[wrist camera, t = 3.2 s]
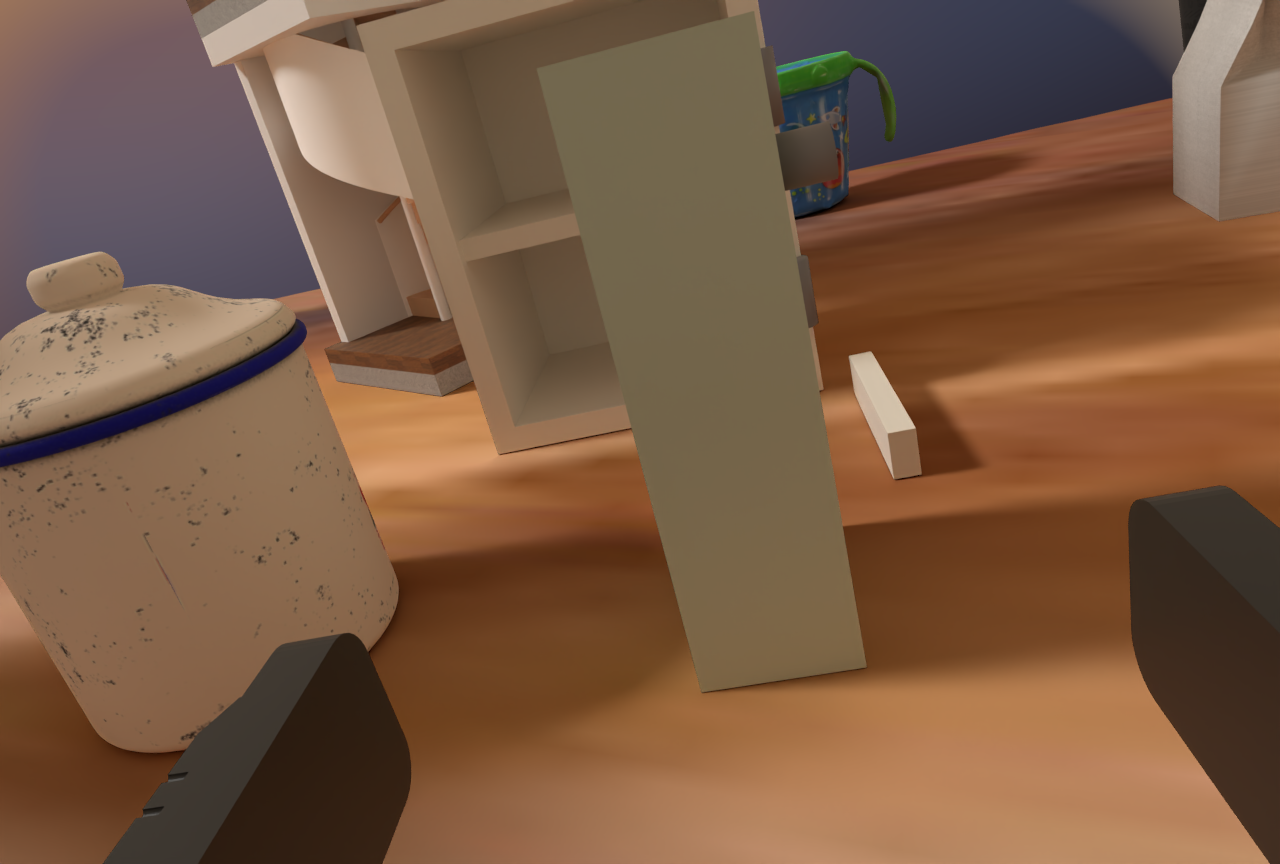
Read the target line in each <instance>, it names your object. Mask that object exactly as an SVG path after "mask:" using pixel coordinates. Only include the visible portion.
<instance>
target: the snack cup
mask: <svg viewBox="0 0 1280 864" xmlns="http://www.w3.org/2000/svg"><path fill="white" fill-rule="evenodd" d="M858 67H860V68H862V69H864V70H866V71H867V72H869V73H870V74H872V75H874V76H875V77H877V79H878V85H879V91H880V96H881V101H882V106H883V112H884V117H885V121H886V131H885V139H886V141H889V142H891V141H892V140H893V138H894V134H895V127H896V108H895V102H894V98H893V94H892V91H891V88H890V86H889V84H888V81H887V79H886V78H885V76H884V75H883V74H882V72H881V71H880V70H879V69H878V68H877V67H876V66H874V65H873V64H871V63H869V62H867V61H865V60H860V59H855V58H853V57H852V56H851V55H850V53H848V52H847V51H842V52H837V53H831V54H826V55H822V56H818V57H814V58H809V59H805V60H801V61H797V62H793V63H789V64H785V65H782V66H778V67H776V70H777V76H778V82H779V88H780V94H781V100H782V106H783V112H784V118H785V123H784V124H781V125H779V129H780V133H782V132H786V131H790V130H794V129H798V128H802V127H806V126H810V125H815V124H819V123H823V122H827V121H828V122H829V123H830V125H831V128H832V132H833V136H834V141H835V146H836V152H837V159H838V172H839V174H838V179H835V180H831V181H826V182H822V183H818V184H814V185H809V186H805V187H801V188H796V189H792V190H790V194H791V200H792V206H793V212H794V218H795V217H800V216H804V215H807V214H811V213H814V212H817V211H820V210H823V209H828V208H830V207H831V206H833V205H835V204H837V203H839V202H840V201H841V200H842V199H843V198H844V197H846V196H848V186H849V177H848V166H849V153H848V152H849V133H848V104H847V92H848V84H849V82H848V80H849V77H850V75H851V73H852V72H853V70H855V69H856V68H858Z"/></svg>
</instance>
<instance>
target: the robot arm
mask: <svg viewBox="0 0 1280 864" xmlns="http://www.w3.org/2000/svg"><path fill="white" fill-rule="evenodd" d="M1128 530H1129V565H1130V600H1131V631H1132V640H1133V646H1134V651H1135V655H1136V659H1137V662H1138V665H1139V668H1140V671H1141V674H1142V676H1143V679H1144V681H1145V683H1146V685H1147V687H1148V689H1149V691H1150V693H1151V695H1152V696H1153V698H1154V699H1155V701H1156V703H1157V704H1158V705H1159V707H1160V708H1161V710H1162V711H1163V712H1164V714H1165V715H1166V717H1167V718H1168V720H1169V721H1170V722H1171V724H1172V725H1173V727H1174V728H1175V730H1176V731H1177V732H1178V734H1179V735H1180V737H1181V738H1182V739H1183V741H1184V742H1185V744H1186V745H1187V747H1188V748H1189V749H1190V751H1191V752H1192V754H1193V755H1194V756H1195V758H1196V759H1197V761H1198V762H1199V764H1200V765H1201V766H1202V768H1203V769H1204V771H1205V772H1206V774H1207V775H1208V776H1209V778H1210V779H1211V781H1212V782H1213V783H1214V785H1215V786H1216V788H1217V789H1218V791H1219V792H1220V793H1221V795H1222V796H1223V798H1224V799H1225V801H1226V802H1227V803H1228V805H1229V806H1230V808H1231V809H1232V810H1233V812H1234V813H1235V815H1236V816H1237V818H1238V819H1239V820H1240V822H1241V823H1242V825H1243V826H1244V828H1245V829H1246V830H1247V832H1248V833H1249V835H1250V836H1251V837H1252V839H1253V840H1254V842H1255V843H1256V845H1257V846H1258V847H1259V849H1260V850H1261V852H1262V853H1263V855H1264V856H1265V857H1266V859H1267V860H1268V862H1269V863H1270V864H1280V528H1279V527H1277V526H1276V525H1275V524H1274V523H1273V522H1271V521H1270V520H1269V519H1268V518H1267V517H1265V516H1264V515H1263V514H1262V513H1260V512H1259V511H1258V510H1257V509H1256V508H1254V507H1253V506H1252V505H1251V504H1249V503H1248V502H1247V501H1246V500H1245V499H1243V498H1242V497H1241V496H1240V495H1239V494H1237V493H1236V492H1235V491H1233V490H1232V489H1230V488H1228V487H1226V486H1214V487H1208V488H1202V489H1196V490H1190V491H1185V492H1179V493H1173V494H1167V495H1161V496H1155V497H1149V498H1144V499H1139V500H1136V501H1135V502H1134V503H1133V504H1132V506H1131V509H1130V512H1129V521H1128ZM410 782H411V761H410V754H409V748H408V745H407V741H406V738H405V736H404V734H403V731H402V729H401V727H400V724H399V722H398V720H397V717H396V715H395V713H394V711H393V708H392V706H391V704H390V701H389V699H388V697H387V694H386V692H385V690H384V688H383V685H382V683H381V681H380V678H379V676H378V674H377V672H376V669H375V667H374V665H373V662H372V660H371V658H370V655H369V653H368V651H367V649H366V647H365V645H364V644H363V642H362V641H361V640H360V639H359V638H358V637H357V636H356V635H354V634H352V633H342V634H336V635H331V636H325V637H319V638H313V639H307V640H301V641H295V642H290V643H285V644H282V645H280V646H279V647H278V648H276V650H275V651H274V652H273V653H272V654H271V656H270V657H269V659H268V660H267V662H266V663H265V664H264V666H263V667H262V669H261V670H260V672H259V673H258V674H257V676H256V677H255V679H254V680H253V681H252V683H251V684H250V686H249V687H248V689H247V690H246V691H245V693H244V694H243V696H242V697H239V698H238V699H237V700H236V701H235V702H234V703H233V704H231V705H230V706H229V707H228V708H227V709H226V710H225V711H223V712H222V713H221V714H220V715H219V716H218V717H217V718H215V719H214V720H213V721H212V722H211V723H210V724H209V725H207V726H206V727H205V728H204V729H203V730H202V731H201V732H199V733H198V734H197V735H196V737H195V738H194V740H193V741H192V742H191V744H190V745H189V746H188V748H187V749H186V751H185V752H184V753H183V755H182V756H181V757H180V759H179V760H178V761H177V763H176V764H175V766H174V767H173V768H172V770H171V771H170V772H169V774H168V782H166V783H161V785H160V786H159V787H158V789H157V790H156V792H155V793H154V794H153V796H152V797H151V798H150V800H149V801H148V803H147V804H146V805H145V807H144V808H143V817H141V818H136V819H135V820H134V822H133V823H132V824H131V826H130V827H129V829H128V830H127V831H126V833H125V834H124V835H123V837H122V838H121V839H120V841H119V842H118V844H117V845H116V846H115V848H114V849H113V850H112V852H111V853H110V855H109V856H108V857H107V859H106V860H105V861H104V863H103V864H382V863H383V861H384V858H385V855H386V853H387V850H388V848H389V845H390V843H391V840H392V837H393V835H394V832H395V830H396V827H397V824H398V822H399V819H400V817H401V814H402V812H403V809H404V806H405V804H406V801H407V798H408V794H409V789H410Z"/></svg>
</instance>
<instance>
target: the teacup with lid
mask: <svg viewBox="0 0 1280 864" xmlns="http://www.w3.org/2000/svg"><path fill="white" fill-rule="evenodd" d="M123 283H124V276H123V273H122V271H121V269H120V267H119V265H118V263H117V261H116V260H115V259H114V258H113V257H111V256H110V255H108V254H107V253H104V252H96V253H91V254H87V255H83V256H79V257H75V258H72V259H68V260H65V261H61V262H57V263H54V264H51V265H48V266H44V267H41V268H39V269H35V270H33V271H31V272H30V273H29V275H28V278H27V289H28V290H29V292H30V294H31V296H32V298H33V300H34V302H35V303H36V304H37V305H38V306H39V307H41V308H43V309H45V310H47V311H48V312H45V313H43V314H41V315H38V316H36V317H34V318H32V319H31V320H28V321H26V322H24V323H22V324H20V325H19V326H17V327H16V328H14V329H13V330H12V331H10V332H9V333H7V334H6V335H5V336H4V337H3V339H1V340H0V575H1V576H2V578H3V580H4V581H5V583H6V585H7V586H8V588H9V590H10V591H11V593H12V595H13V596H14V598H15V599H16V601H17V603H18V604H19V606H20V608H21V609H22V611H23V613H24V614H25V616H26V618H27V619H28V621H29V623H30V624H31V626H32V627H33V629H34V631H35V632H36V634H37V636H38V637H39V639H40V641H41V642H42V644H43V646H44V647H45V649H46V651H47V652H48V654H49V656H50V657H51V659H52V660H53V662H54V664H55V665H56V667H57V669H58V670H59V672H60V674H61V675H62V677H63V679H64V680H65V682H66V684H67V685H68V687H69V689H70V690H71V692H72V693H73V695H74V697H75V698H76V700H77V702H78V703H79V705H80V707H81V708H82V710H83V712H84V713H85V715H86V717H87V718H88V720H89V721H90V723H91V725H92V726H93V728H94V729H95V731H96V732H97V733H98V734H99V736H100V737H102V738H103V739H104V740H105V741H107V742H108V743H110V744H112V745H114V746H116V747H118V748H122V749H125V750H129V751H136V752H143V753H162V752H173V751H180V750H186V749H187V748H188V746H189V745H190V744H191V742H192V741H193V740H194V738H195V737H196V735H197V734H198V733H199V732H201V731H202V730H203V729H204V728H205V727H206V726H207V725H209V724H210V723H211V722H212V721H213V720H214V719H215V718H217V717H218V716H219V715H220V714H221V713H222V712H223V711H225V710H226V709H227V708H228V707H229V706H230V705H231V704H233V703H234V702H235V701H236V700H237V699H238V698H239V697H242V696H243V694H244V693H245V691H246V690H247V689H248V687H249V686H250V684H251V683H252V681H253V680H254V679H255V677H256V676H257V674H258V673H259V672H260V670H261V669H262V667H263V666H264V664H265V663H266V662H267V660H268V659H269V657H270V656H271V654H272V653H273V652H274V651H275V650H276V648H278V647H279V646H280V645H282V644H285V643H290V642H295V641H301V640H307V639H313V638H319V637H325V636H331V635H336V634H342V633H352V634H354V635H356V636H357V637H358V638H359V639H360V640H361V641H362V642H363V644H364V645H365V647H366V649H367V651H369V650H370V649H371V648H372V647H373V646H374V645H375V643H376V642H377V641H378V640H379V638H380V637H381V636H382V634H383V633H384V631H385V630H386V628H387V627H388V625H389V623H390V621H391V619H392V617H393V614H394V612H395V609H396V606H397V602H398V595H399V586H398V580H397V577H396V574H395V572H394V569H393V567H392V564H391V562H390V559H389V557H388V555H387V552H386V550H385V547H384V545H383V542H382V540H381V537H380V535H379V532H378V530H377V527H376V525H375V522H374V520H373V517H372V515H371V513H370V510H369V508H368V505H367V503H366V500H365V498H364V495H363V493H362V490H361V488H360V485H359V483H358V480H357V478H356V475H355V473H354V471H353V468H352V466H351V463H350V461H349V458H348V456H347V453H346V451H345V448H344V446H343V443H342V441H341V438H340V436H339V433H338V431H337V429H336V426H335V424H334V421H333V419H332V416H331V414H330V411H329V409H328V406H327V404H326V401H325V399H324V396H323V394H322V391H321V389H320V387H319V384H318V382H317V379H316V377H315V374H314V372H313V369H312V367H311V364H310V362H309V359H308V357H307V354H306V352H305V349H304V347H303V345H302V343H303V341H304V340H305V338H306V335H307V330H306V327H305V325H304V323H302V322H301V321H300V320H298V319H296V317H295V313H294V312H293V311H292V310H291V309H290V308H288V307H287V306H286V305H284V304H283V303H281V302H279V301H276V300H272V299H228V298H219V297H214V296H210V295H205V294H202V293H199V292H195V291H192V290H189V289H185V288H182V287H177V286H171V285H143V286H137V287H130V288H124V289H122V287H123Z"/></svg>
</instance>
